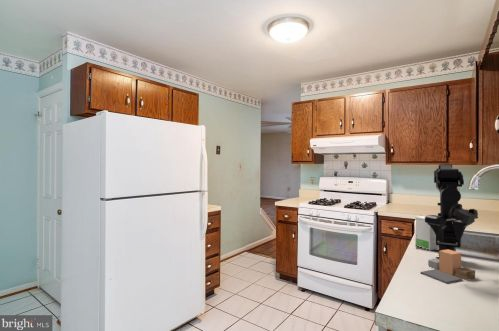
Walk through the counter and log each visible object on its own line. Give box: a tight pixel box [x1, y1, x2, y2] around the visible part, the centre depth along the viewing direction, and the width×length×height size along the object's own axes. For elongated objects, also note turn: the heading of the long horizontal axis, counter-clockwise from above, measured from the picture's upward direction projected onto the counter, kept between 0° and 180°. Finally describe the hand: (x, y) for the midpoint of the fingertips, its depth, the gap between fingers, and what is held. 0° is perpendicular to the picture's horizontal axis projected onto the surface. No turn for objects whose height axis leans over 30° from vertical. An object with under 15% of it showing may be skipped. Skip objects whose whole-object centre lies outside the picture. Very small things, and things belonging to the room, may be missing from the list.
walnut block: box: [455, 267, 476, 281], centre depth 100 cm, size 5×4×3 cm
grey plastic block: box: [427, 258, 440, 270], centre depth 110 cm, size 5×4×3 cm
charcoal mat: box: [420, 269, 463, 284], centre depth 101 cm, size 8×10×1 cm
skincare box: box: [414, 215, 439, 251], centre depth 138 cm, size 8×7×16 cm
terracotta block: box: [438, 249, 463, 276], centre depth 105 cm, size 5×5×8 cm
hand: (450, 240), depth 105 cm, fingers open, 9 cm apart
